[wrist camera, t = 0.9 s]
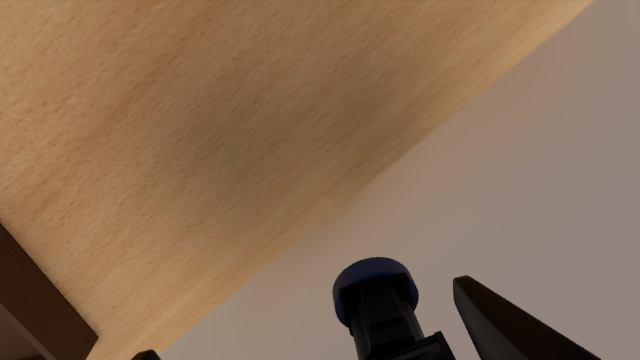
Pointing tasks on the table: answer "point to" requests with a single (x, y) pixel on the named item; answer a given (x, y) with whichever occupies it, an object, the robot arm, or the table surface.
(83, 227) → the table surface
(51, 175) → the table surface
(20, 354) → the tray
